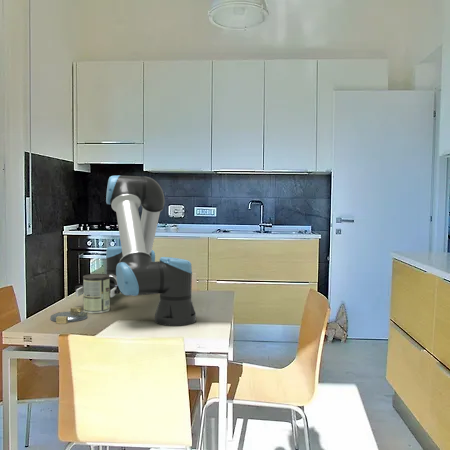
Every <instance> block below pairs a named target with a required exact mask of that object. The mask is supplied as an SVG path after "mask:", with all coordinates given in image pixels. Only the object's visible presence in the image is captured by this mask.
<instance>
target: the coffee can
mask: <svg viewBox="0 0 450 450" xmlns="http://www.w3.org/2000/svg"><path fill="white" fill-rule="evenodd" d="M109 277H110V275H108V274H106V273H90V274H85V275H83V276H82V279H83V283H82V285H83V289H84V293H83V310H82V312H85V313H87V314H102V313H107V312H109V311H110V305H111V304H110V302H111V301H110V298H111V297H110V294H109V288H110V287H109Z"/></svg>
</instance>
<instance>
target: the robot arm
mask: <svg viewBox="0 0 450 450" xmlns="http://www.w3.org/2000/svg"><path fill="white" fill-rule="evenodd" d="M105 195H106V196H105V197H106V198H105V199H106V200H105V202H106V205H111V209H112V210H113V211H114V212H116V220H117V226H118V232H119V239H120V245H118V246H116V245H115V246H113V245H112V246H111V245H110V246H108V247H107V248H106V257H105V258H106V259H105V261H106V262H105V263H106V264H105V265H106V266H105V267H106V269H105V270H106V272H105V274H108V275H110V277H109V287H110V288H109V295H110V298H113V297H115V296H116V295H119V294H120V293H121V294H122V295H124V296H134V297H136V296H142V295H143V296H145V295H159V301H158V304H157V308H156V311H155V314H154V322H155V323H156V324H159V325H162V326H163V325H164V326H170V327H171V326H187V325H192V324H193V323H196V321H197V313H196V310H195V307H194V304H193V301H192V294H193V293H192V285H193V284H192V282H193V281H192V280H193V279H192V278H193V276H192V275H193V269H192V263H191V261H190V260H188V259H184V258H180V257H179V258H178V257H170V256H169V257H168V256H161V257H160V258H159V261H156V253H155V250H154V249H153V246H154V242H155V241H154V240H155V237H156V232H157V228H158V225H159V224H158V222H159V218H160V214H161V212H162V211H163V210H164V207H165V195H164V191H163V189H162V187H161V186H160V184H159V183H158V182H157V181H156V180H155V179H153V178H152V177H150V176H146V175H145V176H138V175H136V176H135V175H120V174H119V175H111V176H109V178H108V180H107V188H106V194H105ZM140 207H141V208H142V212H141V216H140V212H139V208H140ZM74 289H75V291H74V292H75V297H80V296H82V295H84V289H83V284H82V285H76V286H75V287H74Z"/></svg>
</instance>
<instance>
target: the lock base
mask: <svg viewBox="0 0 450 450" xmlns="http://www.w3.org/2000/svg"><path fill="white" fill-rule="evenodd" d="M86 319H88V313H86V312H84V311H82V307H79V306H77V307H73V306H72V307H70V311H61V312H57V313H56V312H55V313H53V314H51V315H50V322H55V324H59V325H60V324H63V325H65V324H68V323H75V322H76V323H77V322H81V321H84V320H86Z"/></svg>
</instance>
